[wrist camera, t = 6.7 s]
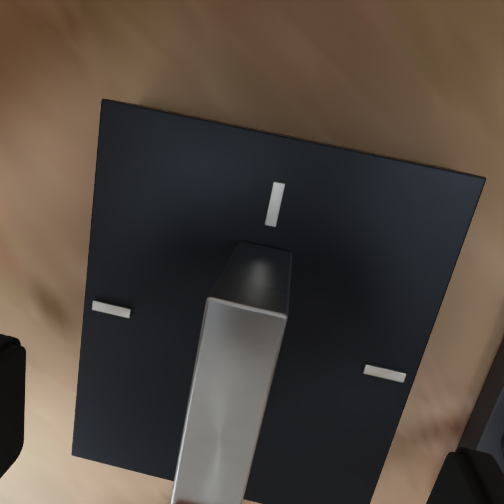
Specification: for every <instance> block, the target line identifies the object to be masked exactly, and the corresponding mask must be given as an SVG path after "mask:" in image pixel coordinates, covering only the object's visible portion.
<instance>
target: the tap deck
mask: <svg viewBox="0 0 504 504" xmlns="http://www.w3.org/2000/svg"><path fill="white" fill-rule="evenodd" d="M485 181H486V178H485V177H482V176H478V175H474V174H469V173H465V172H461V171H457V170H453V169H448V168H443V167H438V166H433V165H429V164H424V163H419V162H414V161H409V160H404V159H399V158H395V157H390V156H385V155H380V154H375V153H370V152H365V151H361V150H356V149H351V148H346V147H341V146H336V145H331V144H327V143H322V142H317V141H312V140H307V139H302V138H298V137H293V136H288V135H283V134H278V133H273V132H268V131H264V130H259V129H254V128H249V127H244V126H239V125H234V124H230V123H225V122H220V121H215V120H210V119H205V118H200V117H196V116H191V115H186V114H181V113H176V112H171V111H166V110H162V109H157V108H152V107H147V106H142V105H137V104H132V103H126V102H120V101H114V100H109V99H102V102H101V113H100V125H99V137H98V149H97V161H96V172H95V184H94V196H93V208H92V219H91V231H90V243H89V255H88V267H87V278H86V290H85V302H84V314H83V326H82V337H81V349H80V361H79V373H78V384H77V396H76V408H75V420H74V432H73V443H72V455H73V456H77V457H81V458H85V459H88V460H92V461H96V462H100V463H104V464H108V465H112V466H116V467H120V468H124V469H128V470H132V471H136V472H139V473H143V474H147V475H151V476H155V477H159V478H163V479H167V480H171V481H174V477H175V472H176V466H177V461H178V455H179V449H180V444H181V438H182V433H183V427H184V422H185V416H186V410H187V405H188V399H189V394H190V388H191V383H192V377H193V372H194V366H195V360H196V355H197V349H198V344H199V338H200V333H201V327H202V321H203V316H204V310H205V305H206V299H207V297H208V296H209V294H210V292H211V290H212V289H213V287H214V285H215V283H216V282H217V280H218V278H219V276H220V275H221V273H222V271H223V269H224V268H225V266H226V264H227V262H228V261H229V259H230V257H231V255H232V254H233V252H234V250H235V248H236V247H237V245H238V243H239V242H240V241H243V242H248V243H252V244H257V245H261V246H266V247H270V248H275V249H279V250H284V251H288V252H291V253H292V268H291V282H290V295H289V309H288V319H287V323H286V328H285V332H284V336H283V340H282V344H281V348H280V352H279V356H278V360H277V364H276V368H275V372H274V376H273V381H272V385H271V389H270V393H269V397H268V401H267V405H266V409H265V413H264V417H263V421H262V425H261V429H260V433H259V438H258V442H257V446H256V450H255V454H254V458H253V462H252V466H251V470H250V474H249V478H248V482H247V486H246V490H245V495H244V499H245V500H249V501H253V502H257V503H261V504H370V501H371V499H372V496H373V493H374V490H375V488H376V485H377V482H378V479H379V476H380V474H381V471H382V468H383V465H384V462H385V460H386V457H387V454H388V451H389V449H390V446H391V443H392V440H393V437H394V435H395V432H396V429H397V426H398V423H399V421H400V418H401V415H402V412H403V410H404V407H405V404H406V401H407V398H408V396H409V393H410V390H411V387H412V384H413V382H414V379H415V376H416V373H417V371H418V368H419V365H420V362H421V359H422V357H423V354H424V351H425V348H426V345H427V343H428V340H429V337H430V334H431V332H432V329H433V326H434V323H435V320H436V318H437V315H438V312H439V309H440V306H441V304H442V301H443V298H444V295H445V293H446V290H447V287H448V284H449V281H450V279H451V276H452V273H453V270H454V267H455V265H456V262H457V259H458V256H459V254H460V251H461V248H462V245H463V242H464V240H465V237H466V234H467V231H468V228H469V226H470V223H471V220H472V217H473V215H474V212H475V209H476V206H477V203H478V201H479V198H480V195H481V192H482V189H483V187H484V184H485Z"/></svg>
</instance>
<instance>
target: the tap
mask: <svg viewBox="0 0 504 504" xmlns="http://www.w3.org/2000/svg"><path fill="white" fill-rule="evenodd" d="M291 268H292V253H291V252H288V251H284V250H279V249H275V248H270V247H266V246H261V245H257V244H252V243H248V242H243V241H240V242H239V243H238V245H237V247H236V248H235V250H234V252H233V254H232V255H231V257H230V259H229V261H228V262H227V264H226V266H225V268H224V269H223V271H222V273H221V275H220V276H219V278H218V280H217V282H216V283H215V285H214V287H213V289H212V290H211V292H210V294H209V296H208V297H207V299H206V305H205V310H204V316H203V321H202V327H201V333H200V338H199V344H198V349H197V355H196V360H195V366H194V372H193V377H192V383H191V388H190V394H189V399H188V405H187V410H186V416H185V422H184V427H183V433H182V438H181V444H180V449H179V455H178V461H177V466H176V472H175V477H174V483H173V488H172V494H171V499H170V504H242V503H243V499H244V495H245V490H246V486H247V482H248V478H249V474H250V470H251V466H252V462H253V458H254V454H255V450H256V446H257V442H258V438H259V433H260V429H261V425H262V421H263V417H264V413H265V409H266V405H267V401H268V397H269V393H270V389H271V385H272V381H273V376H274V372H275V368H276V364H277V360H278V356H279V352H280V348H281V344H282V340H283V336H284V332H285V328H286V323H287V319H288V309H289V295H290V282H291Z"/></svg>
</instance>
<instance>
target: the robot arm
mask: <svg viewBox="0 0 504 504" xmlns="http://www.w3.org/2000/svg"><path fill="white" fill-rule="evenodd" d="M25 372H26V350H25V348H24V347H22V346H21V343H20V341H19V339H17V338H15V337H11V336H6V335H2V334H0V478H1V477H2V476H3V475H4V473H5V472H6V471H7V470H8V469H9V468H10V466H11V465H12V464H13V463H14V462H15V461H16V459H17V458H18V456H19V454H20V452H21V450H22V447H23V443H24V410H25ZM426 504H504V474H503V472H502V470H501V468H500V466H499V465H498V463H497V461H496V459H495V458H494V457H493V455H491V454H489V453H486V452H482V451H478V450H474V449H469V448H465V447H460V448H458V449H457V450H456V452H450V453H448V455H447V456H446V459H445V461H444V463H443V466H442V468H441V470H440V473H439V475H438V477H437V480H436V482H435V484H434V487H433V489H432V491H431V494H430V496H429V498H428V501H427V503H426Z"/></svg>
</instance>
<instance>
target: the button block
mask: <svg viewBox="0 0 504 504" xmlns="http://www.w3.org/2000/svg"><path fill="white" fill-rule="evenodd" d="M460 447H465V448H469V449H474V450H478V451H482V452H486V453H489V454H491V455H493V457H494V458H495V459H496V461H497V463H498V465H499V466H500V468H501V470H502V472H503V474H504V339H503V342H502V344H501V346H500V349H499V351H498V354H497V356H496V358H495V361H494V363H493V366H492V368H491V370H490V373H489V375H488V378H487V380H486V382H485V385H484V387H483V390H482V392H481V394H480V397H479V399H478V401H477V404H476V406H475V409H474V411H473V413H472V416H471V418H470V421H469V423H468V425H467V428H466V430H465V433H464V435H463V437H462V440H461V442H460V445H459V447H458V448H460Z"/></svg>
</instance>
